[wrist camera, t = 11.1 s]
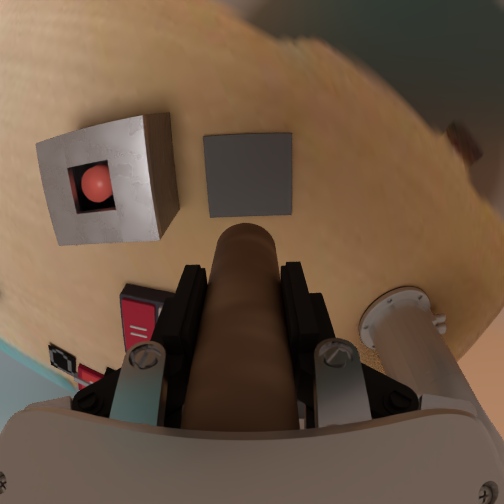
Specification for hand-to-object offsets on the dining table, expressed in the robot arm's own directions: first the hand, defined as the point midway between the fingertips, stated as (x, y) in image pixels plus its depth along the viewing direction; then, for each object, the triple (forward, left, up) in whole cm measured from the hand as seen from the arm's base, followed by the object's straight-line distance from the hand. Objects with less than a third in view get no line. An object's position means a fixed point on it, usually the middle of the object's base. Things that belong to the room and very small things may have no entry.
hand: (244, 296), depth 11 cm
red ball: (+14, -2, -17) cm, 22 cm away
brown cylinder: (0, 0, -4) cm, 4 cm away
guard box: (+14, -2, -21) cm, 25 cm away
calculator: (+14, +22, -21) cm, 34 cm away
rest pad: (0, 0, -21) cm, 21 cm away
